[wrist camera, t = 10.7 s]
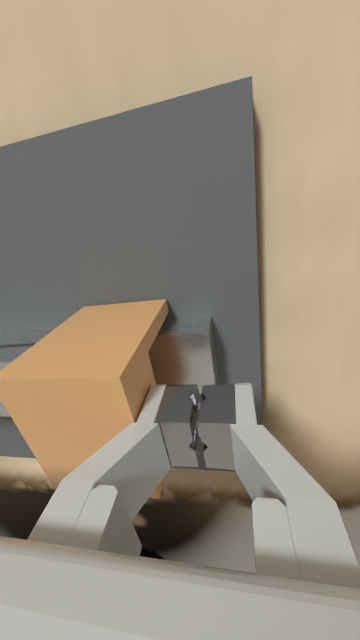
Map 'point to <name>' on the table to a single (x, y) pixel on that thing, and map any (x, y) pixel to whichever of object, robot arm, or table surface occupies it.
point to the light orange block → (83, 383)
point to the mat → (138, 226)
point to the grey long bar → (159, 350)
